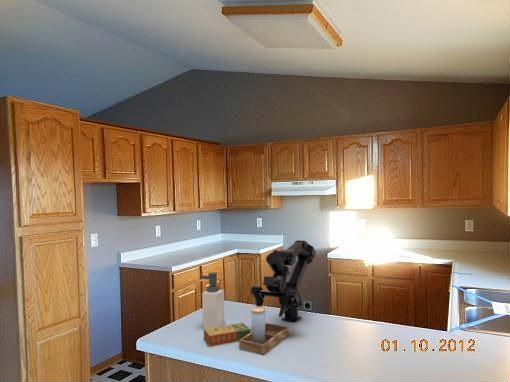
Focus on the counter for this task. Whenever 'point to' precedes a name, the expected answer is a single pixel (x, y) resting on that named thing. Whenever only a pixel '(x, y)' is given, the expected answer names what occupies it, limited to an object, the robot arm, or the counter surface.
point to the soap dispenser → (213, 303)
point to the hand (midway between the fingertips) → (268, 315)
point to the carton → (225, 334)
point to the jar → (258, 324)
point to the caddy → (272, 339)
